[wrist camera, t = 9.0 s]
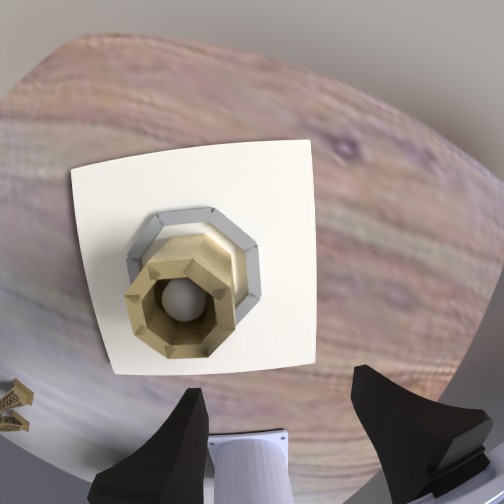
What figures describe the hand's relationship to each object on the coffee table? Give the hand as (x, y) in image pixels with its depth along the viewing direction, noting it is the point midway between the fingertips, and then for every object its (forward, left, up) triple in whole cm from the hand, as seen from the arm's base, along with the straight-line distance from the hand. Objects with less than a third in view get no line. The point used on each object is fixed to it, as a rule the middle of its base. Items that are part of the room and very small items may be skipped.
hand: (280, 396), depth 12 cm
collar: (+4, +4, -8) cm, 10 cm away
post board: (+4, +4, -9) cm, 11 cm away
